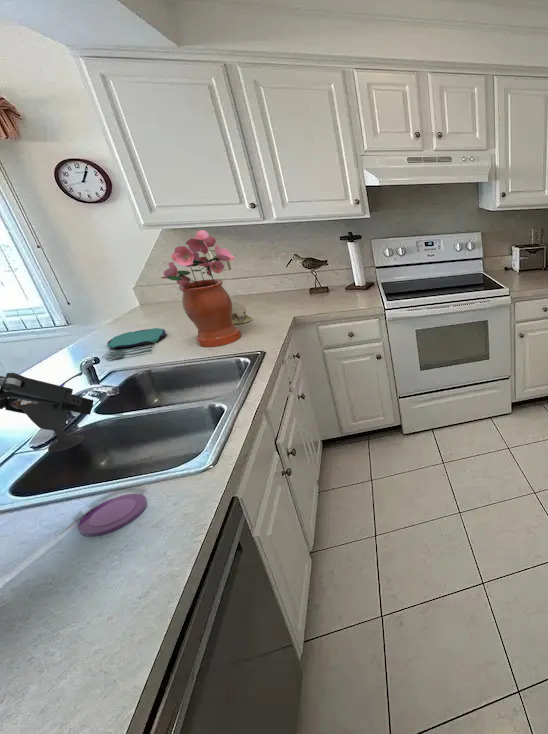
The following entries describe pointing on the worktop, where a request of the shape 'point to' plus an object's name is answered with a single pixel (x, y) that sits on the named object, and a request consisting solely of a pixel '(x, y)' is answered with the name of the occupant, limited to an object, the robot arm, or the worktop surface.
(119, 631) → the worktop surface
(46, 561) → the worktop surface
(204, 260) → the potted flower
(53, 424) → the sundae
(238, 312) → the ceramic model
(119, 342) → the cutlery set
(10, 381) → the robot arm
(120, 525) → the plum plate
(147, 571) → the worktop surface
